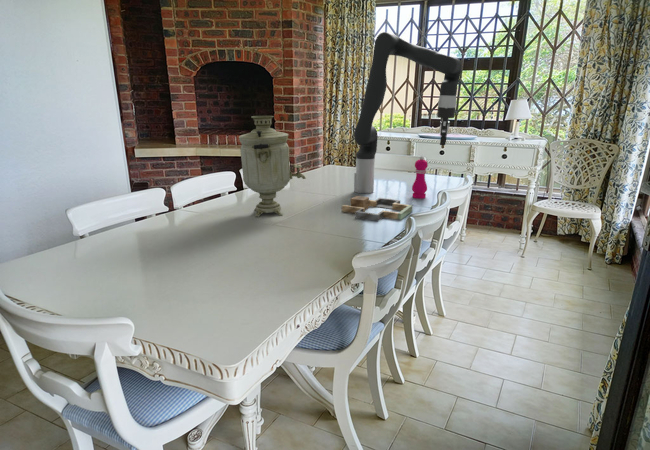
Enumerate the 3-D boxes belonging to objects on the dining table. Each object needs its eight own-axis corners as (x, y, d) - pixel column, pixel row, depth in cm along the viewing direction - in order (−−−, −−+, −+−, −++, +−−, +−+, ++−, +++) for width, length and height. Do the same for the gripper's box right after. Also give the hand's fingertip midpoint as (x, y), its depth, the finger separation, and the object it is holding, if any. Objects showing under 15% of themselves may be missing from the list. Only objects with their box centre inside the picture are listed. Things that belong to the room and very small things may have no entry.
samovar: (294, 225, 163) (292, 119, 151) (230, 221, 168) (223, 118, 156) (312, 205, 191) (311, 114, 179) (257, 202, 196) (252, 113, 184)
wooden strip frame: (335, 214, 177) (335, 209, 177) (361, 200, 200) (361, 195, 199) (396, 223, 165) (396, 217, 165) (416, 207, 188) (416, 202, 187)
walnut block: (350, 209, 185) (350, 198, 184) (356, 206, 190) (356, 195, 189) (363, 211, 183) (363, 200, 181) (368, 208, 188) (368, 197, 186)
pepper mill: (409, 197, 205) (412, 156, 199) (413, 194, 211) (416, 154, 205) (424, 199, 202) (427, 157, 196) (428, 196, 208) (431, 155, 202)
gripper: (438, 105, 191) (435, 141, 196) (437, 106, 178) (433, 145, 183) (456, 106, 189) (452, 142, 194) (455, 107, 176) (451, 146, 181)
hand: (442, 144), depth 188 cm, fingers open, 8 cm apart
